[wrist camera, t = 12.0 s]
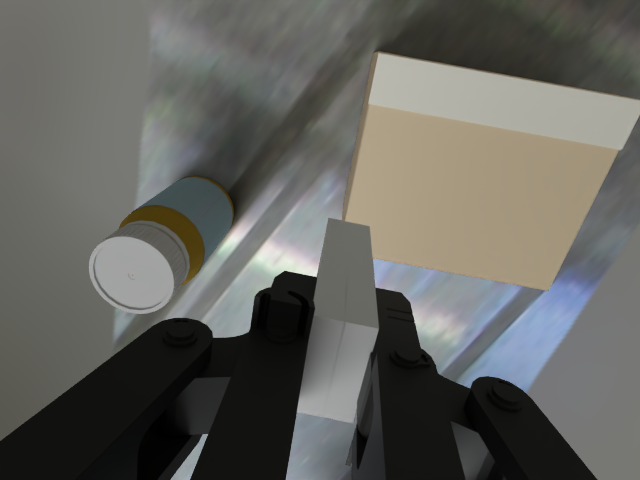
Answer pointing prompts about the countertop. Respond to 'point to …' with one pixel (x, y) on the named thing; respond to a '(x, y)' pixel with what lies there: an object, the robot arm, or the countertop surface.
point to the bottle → (161, 245)
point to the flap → (481, 168)
